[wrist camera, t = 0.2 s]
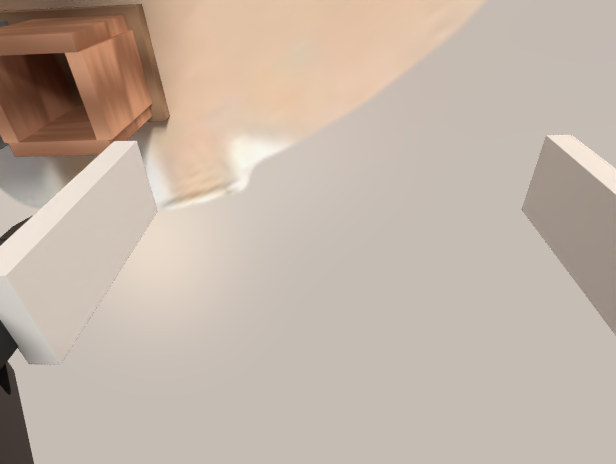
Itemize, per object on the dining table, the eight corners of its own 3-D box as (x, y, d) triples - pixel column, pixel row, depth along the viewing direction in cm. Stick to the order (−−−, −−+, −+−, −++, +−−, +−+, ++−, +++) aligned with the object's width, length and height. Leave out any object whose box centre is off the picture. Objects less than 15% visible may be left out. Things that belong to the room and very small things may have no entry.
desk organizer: (-84, 15, 36) (-210, 36, 28) (141, 4, 35) (82, 22, 27) (-26, 122, 42) (-116, 167, 34) (169, 116, 41) (128, 160, 32)
